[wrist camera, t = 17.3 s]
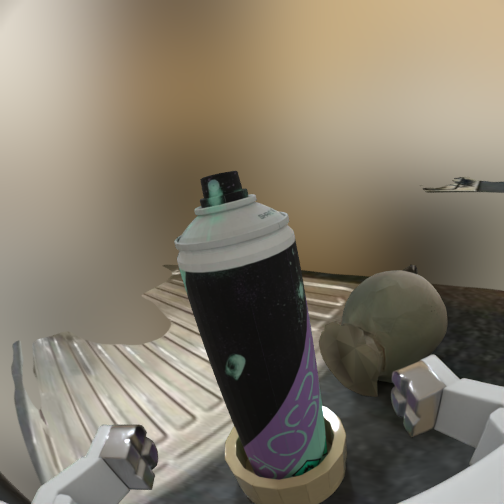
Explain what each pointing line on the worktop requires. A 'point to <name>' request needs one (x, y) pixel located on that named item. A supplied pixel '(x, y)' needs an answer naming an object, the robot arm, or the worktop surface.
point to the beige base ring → (299, 487)
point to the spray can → (255, 325)
